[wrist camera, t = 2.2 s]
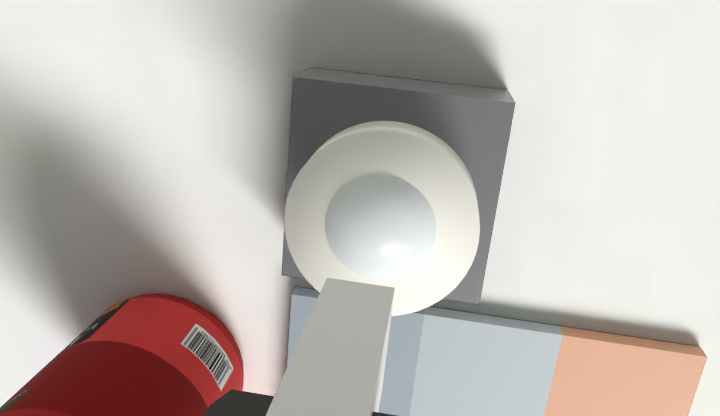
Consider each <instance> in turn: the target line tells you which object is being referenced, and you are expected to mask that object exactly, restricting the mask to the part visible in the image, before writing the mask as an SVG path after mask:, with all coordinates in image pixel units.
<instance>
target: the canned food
mask: <svg viewBox="0 0 720 416" xmlns="http://www.w3.org/2000/svg"><path fill="white" fill-rule="evenodd" d="M243 375H244V374H243V361H242V358H241V354H240V351H239V348H238V346H237V344H236V342H235V340H234V338H233V337H232V335H231V334H230V333H229V331H228V330H227V329H226V327H225V326H224V325H223V324H222V323H221V322H220V321H219V320H218V319H217V318H216V317H215V316H214V315H212V314H211V313H209V312H208V311H206V310H205V309H203V308H202V307H201V306H199V305H196V304H194V303H192V302H190V301H188V300H186V299H182V298H179V297H175V296H171V295H162V294H150V295H142V296H138V297H135V298H131V299H128V300H125V301H122V302H119V303H118V304H116V305H114V306H112V307H110V308H109V309H107V310H106V311H105V312H104V313H103V314H102V315H101V316H100V317H99V318H97V319H96V320H95V321H94V322H93V323H92V324H91V325H90V326H89V327H88V328H87V329H85V330H84V331H83V332H82V333H81V334H80V335H79V336H78V337H77V338H76V339H75V340H73V341H72V342H71V343H70V344H69V345H68V346H67V347H66V348H65V349H64V350H63V351H61V352H60V353H59V354H58V355H57V356H56V357H55V358H54V359H53V360H52V361H51V362H49V363H48V364H47V365H46V366H45V367H44V368H43V369H42V370H41V371H40V372H39V373H37V374H36V375H35V376H34V377H33V378H32V379H31V380H30V381H29V382H28V383H27V384H26V385H24V386H23V387H22V388H21V389H20V390H19V391H18V392H17V393H16V394H15V395H14V396H12V397H11V398H10V399H9V400H8V401H7V402H6V403H5V404H4V405H3V406H2V407H0V416H204V414H205V412H206V410H207V409H208V407H209V405H211V404H212V403H213V402H215V401H216V400H218V399H219V398H220V397H222V396H223V395H224V394H226V393H227V392H228V391H230V390H231V389H233V390H239V391H242V389H243Z"/></svg>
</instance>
